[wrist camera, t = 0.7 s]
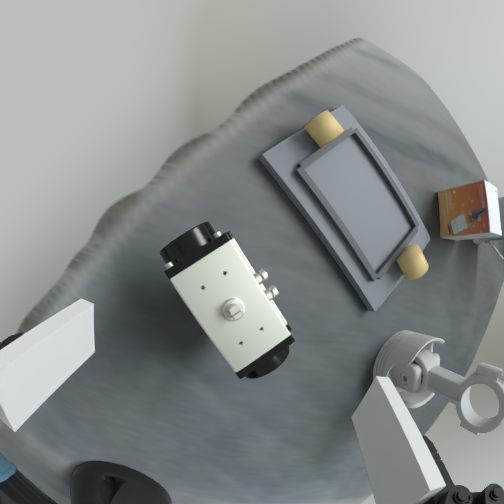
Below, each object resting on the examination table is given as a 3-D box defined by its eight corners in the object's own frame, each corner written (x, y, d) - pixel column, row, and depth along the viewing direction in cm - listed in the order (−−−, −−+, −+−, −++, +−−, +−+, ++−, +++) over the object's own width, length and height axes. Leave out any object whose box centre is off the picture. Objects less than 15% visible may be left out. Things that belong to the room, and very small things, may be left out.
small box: (436, 191, 37) (484, 177, 27) (452, 197, 38) (497, 186, 28) (439, 238, 36) (490, 232, 26) (456, 241, 38) (502, 236, 28)
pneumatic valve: (227, 349, 28) (255, 400, 16) (165, 257, 27) (149, 250, 15) (269, 320, 29) (321, 352, 17) (210, 228, 28) (228, 202, 16)
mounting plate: (423, 239, 35) (449, 236, 30) (368, 310, 32) (395, 316, 27) (338, 109, 33) (358, 91, 28) (258, 159, 30) (272, 139, 24)
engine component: (419, 321, 35) (371, 343, 32) (533, 341, 15) (501, 387, 12) (417, 381, 35) (372, 407, 32) (514, 418, 15) (473, 468, 12)
